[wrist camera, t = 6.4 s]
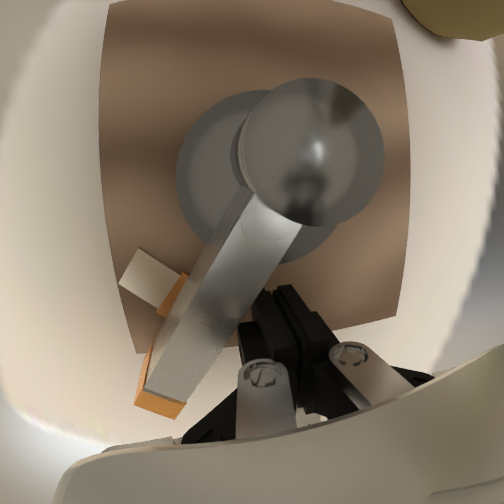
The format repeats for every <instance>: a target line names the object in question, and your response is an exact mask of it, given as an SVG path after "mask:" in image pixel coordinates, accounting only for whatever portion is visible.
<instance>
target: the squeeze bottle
mask: <svg viewBox="0 0 504 504" xmlns="http://www.w3.org/2000/svg"><path fill="white" fill-rule="evenodd" d="M402 2H403V4H404V5H405V6H406V8H407V9H408V10H409V12H410V13H411V14H412V16H413V17H415V18H416V19H417V20H418V21H419V22H420V23H421V24H422V25H423V26H424V27H425V28H426V29H428V30H429V31H431V32H432V33H434V34H435V35H438V36H442V37H446V38H459V39H468V40H476V41H484V40H487V39H489V38H492V37H494V36H497V35H500V34H503V33H504V0H402Z"/></svg>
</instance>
